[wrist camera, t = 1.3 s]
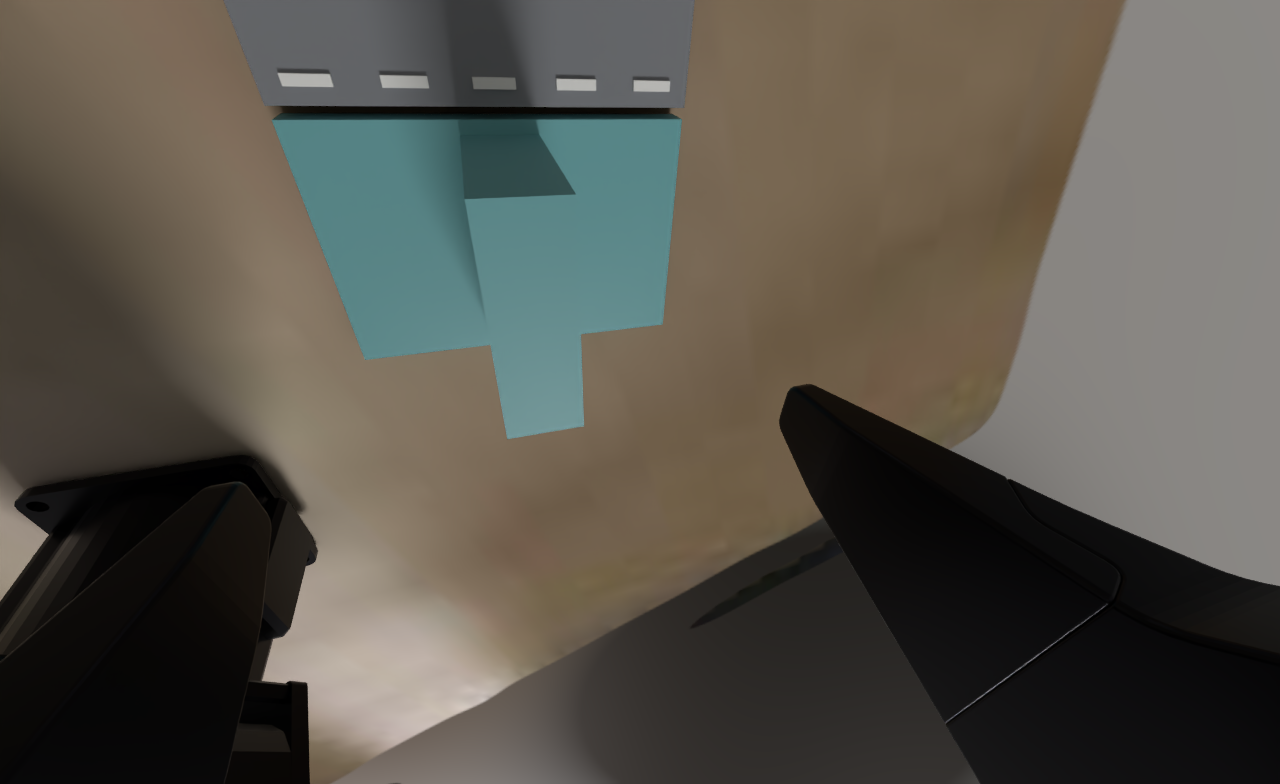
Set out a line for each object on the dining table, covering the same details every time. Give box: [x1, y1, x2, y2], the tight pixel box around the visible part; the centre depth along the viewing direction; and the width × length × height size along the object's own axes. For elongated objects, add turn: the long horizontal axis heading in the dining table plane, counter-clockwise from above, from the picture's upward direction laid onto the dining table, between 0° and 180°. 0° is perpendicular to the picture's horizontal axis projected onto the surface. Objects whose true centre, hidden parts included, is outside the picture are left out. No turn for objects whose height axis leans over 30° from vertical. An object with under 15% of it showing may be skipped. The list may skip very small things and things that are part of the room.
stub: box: [272, 113, 682, 439], centre depth 13 cm, size 10×7×6 cm
